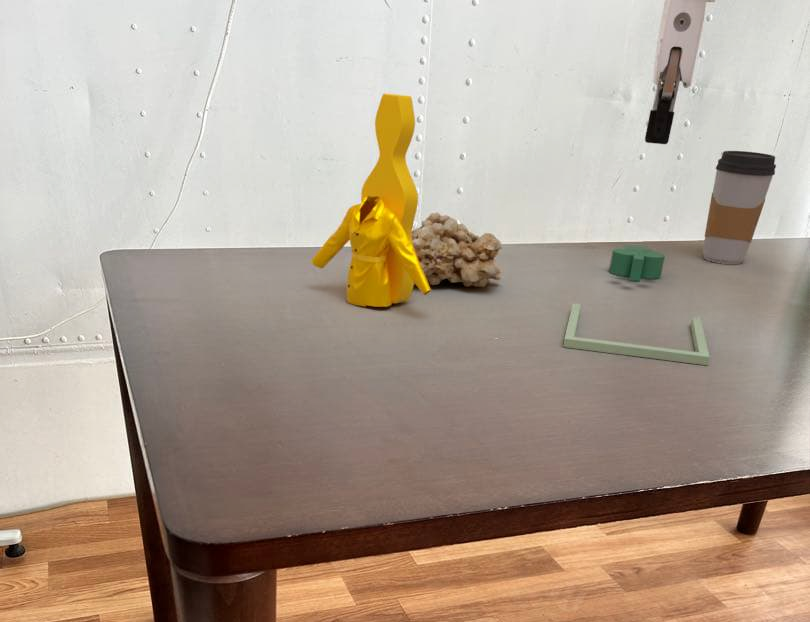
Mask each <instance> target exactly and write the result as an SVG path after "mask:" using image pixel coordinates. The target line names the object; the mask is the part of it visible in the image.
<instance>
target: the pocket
mask: <svg viewBox="0 0 810 622" xmlns="http://www.w3.org/2000/svg"><path fill="white" fill-rule="evenodd" d="M581 308H582V304H581V303H572V305H571V309H570V314H569V318H568V323H567V326H566V331H565V335H564V338H563V339H564V340H563V345H562V347H563V348H567V349H574V350H583V351H591V352H599V353H606V354H615V355H621V356H630V357H637V358H646V359H652V360H660V361H661V360H662V361H668V362H669V361H670V362H677V363H685V364H693V365H699V366H708V365H709V361H710V352H709V348H708V343H707V340H706V335H705V331H704V327H703V322H702V318H700V317H694V316H692V317H691V320H690V324H689V326H690V330H691V331H690V332H691V336H692V343H693V346H694V351H691V350H683V349H674V348H667V347H660V346H659V347H658V346H652V345H651V346H650V345H643V344H635V343H627V342H619V341H611V340H602V339H597V338H596V339H595V338H588V337H579V336H576V332H577V328H578V323H579V318H580V314H581Z"/></svg>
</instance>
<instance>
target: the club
mask: <svg viewBox="0 0 810 622" xmlns="http://www.w3.org/2000/svg"><path fill="white" fill-rule="evenodd" d="M665 258H666V255H665V254H664V253H661V252H658V251H653V249H652V248H649V247H647V246H640V245H628V246H625V247H624V248H623V247H618V248H614V249H612V253H611V258H610V262H609V269H608V272H609V274H611V275H615V276H619V277H628V278H629V281H631V282H640V281H641V279H643V280H644V279H646V280H658V279H660V278H661V276H662V272H663V266H664V262H665Z"/></svg>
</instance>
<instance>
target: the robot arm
mask: <svg viewBox="0 0 810 622" xmlns="http://www.w3.org/2000/svg"><path fill="white" fill-rule="evenodd" d="M715 2H716V0H664V4H663V9H662V14H661V19H660V24H659V30H658V36H657V41H656V42H657V43H656V48H655V55H654V63H653V74H652V75H653V76H652V83H653V84H654V85H655V86H656V88H655V93H654V99H653V105H652V108H651V109H650V111H649V116H648V122H647V127H646V131H645V136H644V141H645V143H646V144H657V145H667V144H668V143H669V141H670V137H671V136H670V135H671V131H672V126H673V122H674V117H675V111H674V109H675V105H676V99H677V95H678V92H679V88H680V82H681V83H682V87H683V88H684V89H688V88H689V87H691V86H692V80H693V75H694V70H695V65H696V60H697V55H698V50H699V46H700V40H701V35H702V32H703V31H702V30H703V26H704V20H705V16H706V15H705V14H706V6H707V3H715Z"/></svg>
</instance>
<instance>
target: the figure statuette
mask: <svg viewBox="0 0 810 622" xmlns="http://www.w3.org/2000/svg"><path fill="white" fill-rule="evenodd" d="M377 108H378V109H377V110H376V115H375V120H374V129H375V136H376V141H377V146H378V152H379V156H378V160H377V161H376V164H375V166H374V167H373V169H372V170H371V172H370V174H369V175H368V176H367V178H366V179H365V181H364V183H363V185H362V188H361V193H360V194H361V195H360V196H361V197H360V199H361V201H360V203H358V204H353V205H351V206H350V207H348V209H347V211H346V213H345V215H344V217H343V219H342V222H341V223H340V224H339V226H338V227H337V229H336V231H334V232H333V233H332V234H331V235H330V236H329V238H327V240H326V241H325V243H324V244H323V245H322V247H320V249H319V250H318V252H317V253H316V254H315V255H314V256H313V258H312V259H311V261H310V263H311V264H312V265H313V266H314V267H316V268H318V269H322V270H323V269H324V268H325V267H326V266H327V265H328V264H329V263H330V261H331V260H332V259H333V258H335V256H337V254H338V253H339V252H340V251H341V250H342V249H343V248H344V247H345V246H346V245H347V243H350V248H351V256H352V257H351V260H350V264H349V268H348V273H347V281H346V302H347V303H349V304H351V305H355V306H359V307H365V308H366V307H377V308H378V307H379V308H380V307H382V308H383V307H391V306H392V304H399V303H404V302H407V301H408V300H409V299H410V298H411V297H412V294H413V293H412V292H413V290H414V286H416V287H417V288H418V290H420V292H421V294H423V295H424V296H426V295H428V294H429V293H430V292H431V291H432V288H431V286H430V284H428V281H427V279H426V276H425V274H424V272H423V269H422V267H421V265H420V262H419V260H418V257H417V255H416V252H415V250H414V247H413V242H412V231H413V225H414V221H415V218H416V214H417V209H418V203H419V193H418V190H417V187H416V185H415V182H414V179H413V178H412V175H411V173H410V171H409V167H408V165H407V159H406V158H407V157H406V155H407V153H408V149H409V147H410V145H411V142H412V140H413V137H414V134H415V128H416V118H415V111H414V105H413V99H412V97H411V95H404V94H403V95H401V94H396V93H383V94H382V96H381V98H380V102H379V104H378V107H377ZM414 283H415V284H416V285H414Z"/></svg>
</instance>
